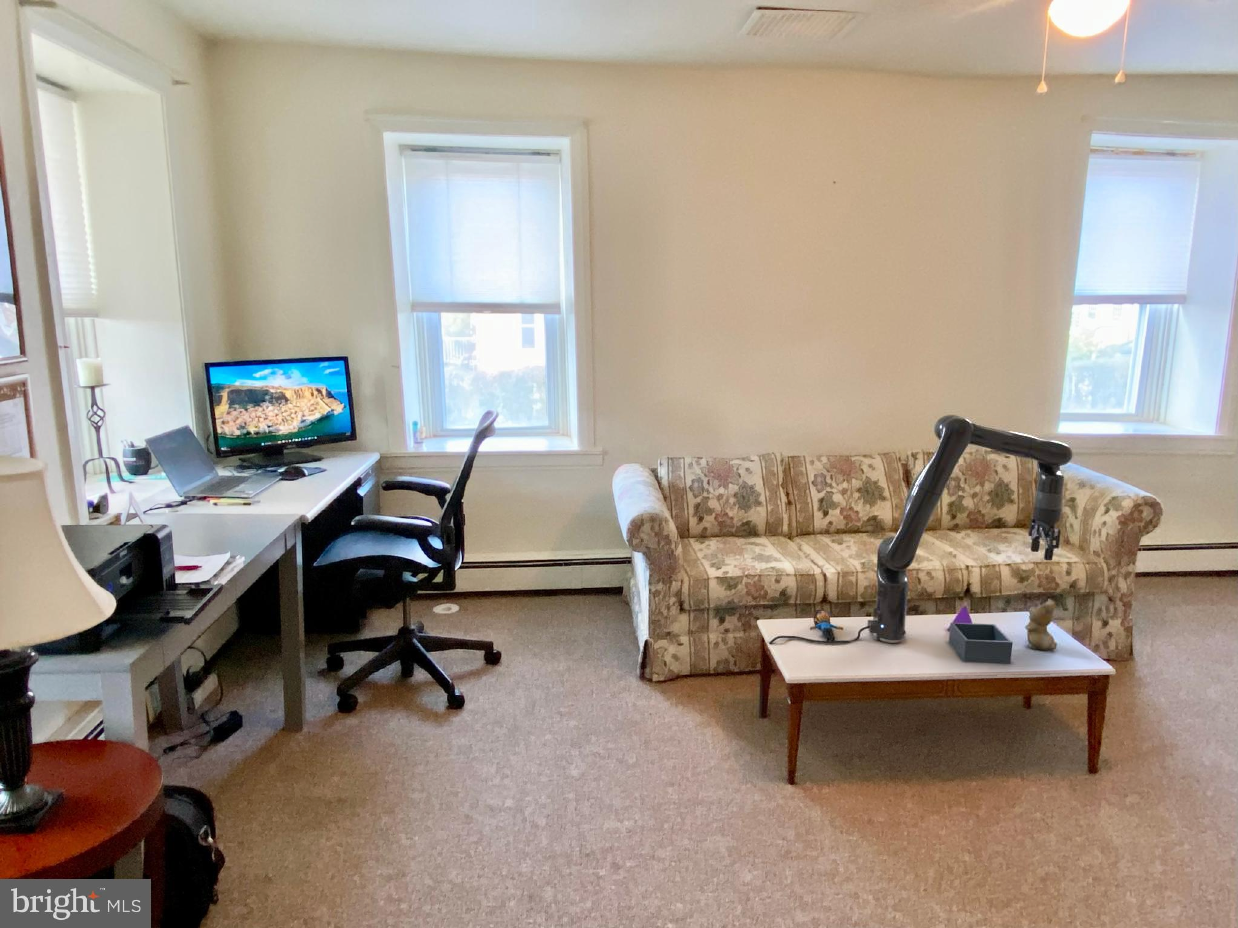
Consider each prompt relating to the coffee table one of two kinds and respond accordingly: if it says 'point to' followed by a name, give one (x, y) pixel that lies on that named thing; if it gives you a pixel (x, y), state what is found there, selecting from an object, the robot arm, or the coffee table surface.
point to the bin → (980, 643)
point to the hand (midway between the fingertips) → (1041, 555)
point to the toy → (824, 624)
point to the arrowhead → (962, 617)
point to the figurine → (1041, 627)
